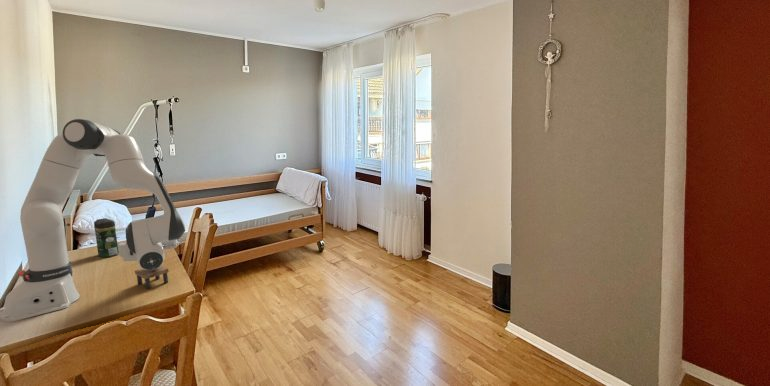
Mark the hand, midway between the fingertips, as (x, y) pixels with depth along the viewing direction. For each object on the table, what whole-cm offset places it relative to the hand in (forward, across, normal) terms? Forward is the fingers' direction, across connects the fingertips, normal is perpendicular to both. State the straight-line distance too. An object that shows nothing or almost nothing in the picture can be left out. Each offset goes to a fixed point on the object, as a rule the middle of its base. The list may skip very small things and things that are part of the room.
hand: (148, 240), depth 158 cm
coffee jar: (+52, +17, +19) cm, 58 cm away
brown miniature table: (-1, 0, +19) cm, 19 cm away
